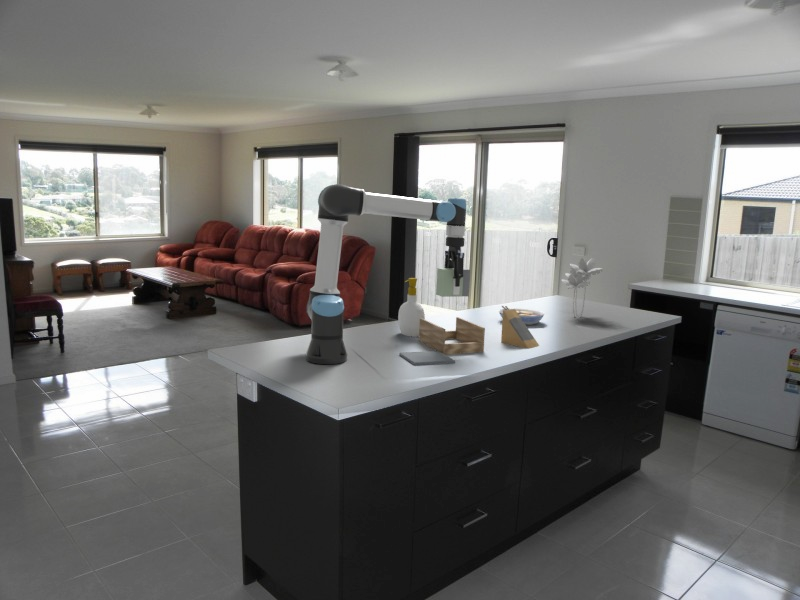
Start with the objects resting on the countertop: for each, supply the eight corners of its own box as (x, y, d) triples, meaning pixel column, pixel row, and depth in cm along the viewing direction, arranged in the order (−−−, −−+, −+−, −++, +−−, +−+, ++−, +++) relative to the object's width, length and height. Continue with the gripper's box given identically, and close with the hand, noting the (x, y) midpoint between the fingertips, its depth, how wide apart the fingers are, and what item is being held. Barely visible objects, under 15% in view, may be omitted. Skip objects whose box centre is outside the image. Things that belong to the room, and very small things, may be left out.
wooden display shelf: (442, 354, 233) (443, 329, 232) (418, 341, 256) (419, 318, 255) (483, 352, 239) (484, 327, 238) (456, 339, 262) (457, 317, 261)
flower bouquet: (547, 313, 323) (554, 303, 303) (566, 258, 330) (575, 245, 310) (578, 324, 321) (588, 315, 300) (597, 268, 328) (608, 256, 308)
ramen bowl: (548, 331, 288) (550, 315, 287) (501, 330, 289) (502, 313, 287) (538, 322, 313) (539, 307, 312) (494, 321, 313) (495, 305, 312)
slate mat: (414, 365, 215) (414, 362, 215) (399, 355, 230) (399, 352, 229) (454, 362, 220) (454, 360, 220) (437, 353, 235) (437, 350, 235)
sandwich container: (530, 351, 245) (532, 315, 243) (500, 344, 256) (502, 310, 254) (542, 348, 251) (544, 313, 249) (512, 342, 262) (514, 308, 260)
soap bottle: (391, 334, 268) (393, 277, 264) (405, 332, 274) (407, 276, 270) (414, 340, 258) (416, 280, 254) (428, 337, 264) (431, 279, 260)
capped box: (441, 296, 240) (443, 269, 238) (435, 294, 245) (437, 267, 244) (468, 296, 244) (470, 269, 242) (462, 294, 250) (463, 268, 248)
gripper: (474, 238, 234) (471, 296, 237) (453, 235, 251) (450, 290, 255) (456, 237, 231) (453, 296, 234) (437, 235, 249) (434, 290, 252)
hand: (452, 293), depth 245 cm, fingers closed on capped box, 6 cm apart
